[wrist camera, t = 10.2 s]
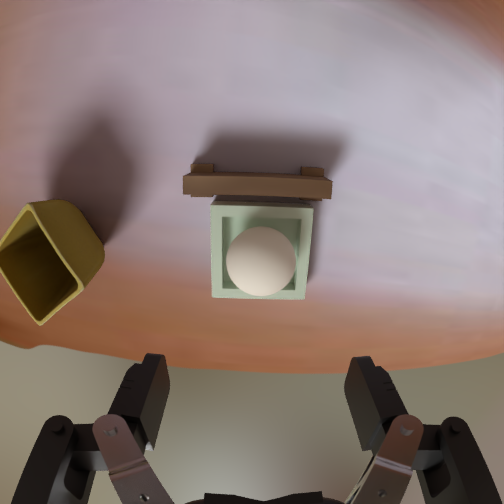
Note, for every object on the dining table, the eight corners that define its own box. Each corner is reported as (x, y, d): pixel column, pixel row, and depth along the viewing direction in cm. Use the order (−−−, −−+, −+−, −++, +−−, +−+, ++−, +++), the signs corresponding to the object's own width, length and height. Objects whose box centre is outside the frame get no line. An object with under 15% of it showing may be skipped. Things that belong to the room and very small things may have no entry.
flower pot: (38, 228, 28) (-11, 255, 20) (80, 183, 27) (27, 200, 18) (78, 287, 31) (39, 327, 23) (126, 250, 29) (86, 288, 21)
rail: (192, 163, 26) (182, 166, 23) (321, 168, 27) (333, 171, 23) (192, 195, 28) (183, 203, 24) (319, 199, 28) (330, 208, 24)
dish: (213, 200, 28) (210, 205, 26) (309, 204, 28) (313, 208, 26) (214, 287, 31) (212, 297, 29) (301, 289, 31) (304, 299, 29)
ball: (228, 217, 28) (223, 237, 22) (293, 219, 28) (304, 240, 22) (228, 277, 30) (223, 308, 24) (288, 278, 30) (297, 309, 24)
